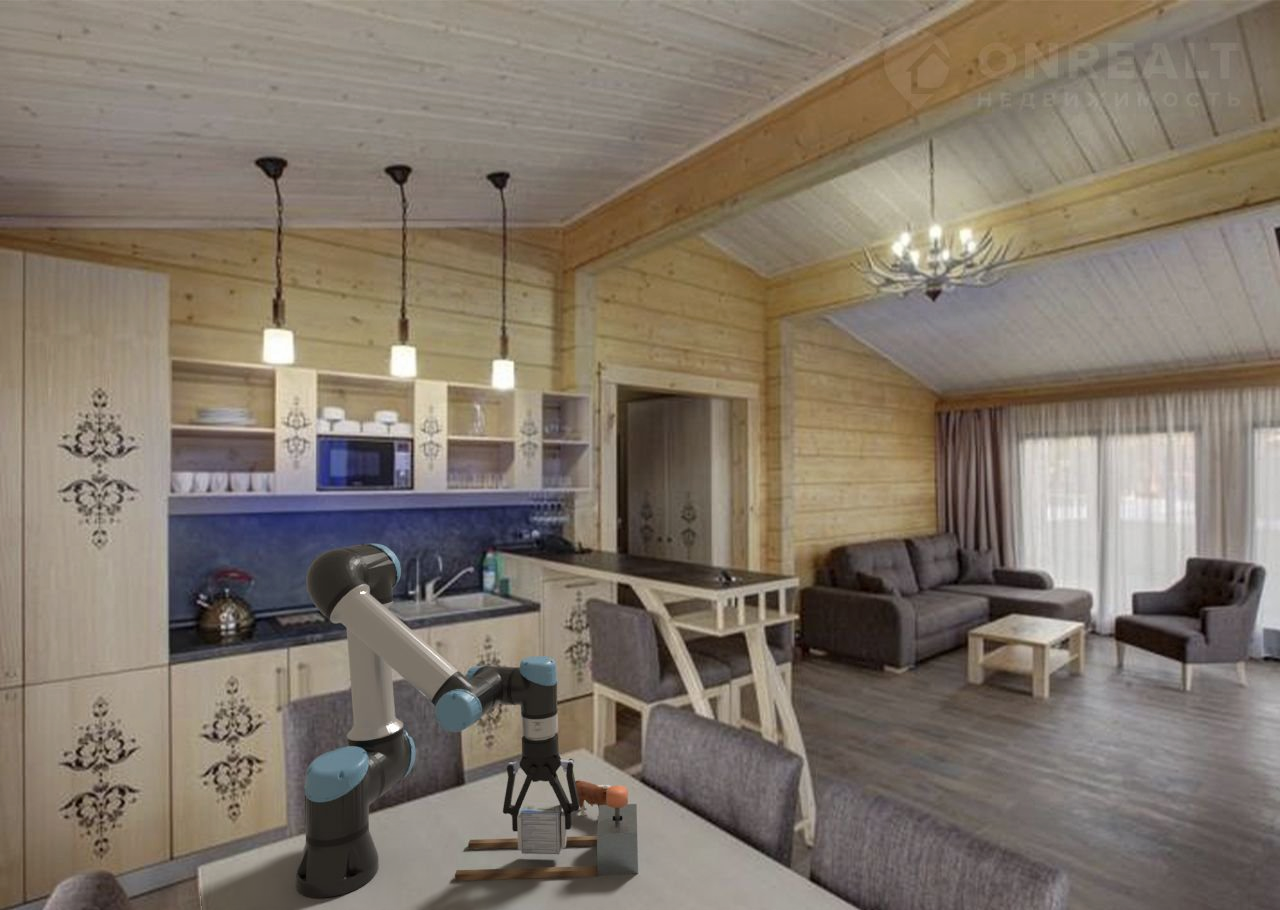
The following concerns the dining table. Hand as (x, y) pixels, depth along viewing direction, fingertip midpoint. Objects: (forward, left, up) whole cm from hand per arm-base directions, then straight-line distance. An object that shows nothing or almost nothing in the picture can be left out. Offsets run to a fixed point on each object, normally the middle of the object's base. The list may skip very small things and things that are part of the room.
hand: (542, 845), depth 144 cm
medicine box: (0, 0, -1) cm, 1 cm away
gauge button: (+16, 0, +4) cm, 16 cm away
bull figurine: (+11, +18, -3) cm, 21 cm away
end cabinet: (+16, 0, -3) cm, 16 cm away
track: (-2, 0, -3) cm, 4 cm away
